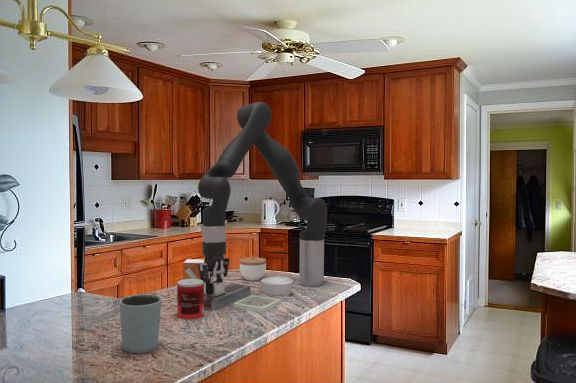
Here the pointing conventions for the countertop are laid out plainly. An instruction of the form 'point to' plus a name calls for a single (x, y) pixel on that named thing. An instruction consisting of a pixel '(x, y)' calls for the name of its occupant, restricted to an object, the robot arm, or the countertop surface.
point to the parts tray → (242, 305)
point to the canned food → (190, 298)
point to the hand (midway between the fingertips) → (214, 292)
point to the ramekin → (277, 285)
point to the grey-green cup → (140, 322)
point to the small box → (192, 269)
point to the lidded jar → (252, 268)
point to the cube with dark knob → (216, 289)
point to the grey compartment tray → (226, 296)
